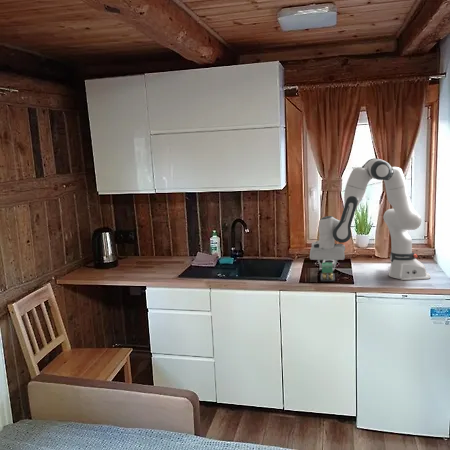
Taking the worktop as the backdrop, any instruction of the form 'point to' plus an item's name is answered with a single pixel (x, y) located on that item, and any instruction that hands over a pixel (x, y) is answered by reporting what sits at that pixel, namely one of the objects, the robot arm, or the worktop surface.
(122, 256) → the worktop surface
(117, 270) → the worktop surface
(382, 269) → the worktop surface
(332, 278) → the chassis
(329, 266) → the green board
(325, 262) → the graphics card
